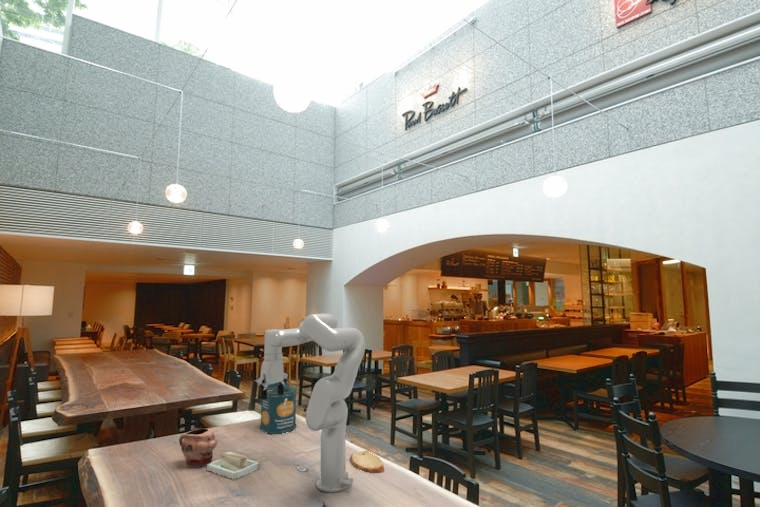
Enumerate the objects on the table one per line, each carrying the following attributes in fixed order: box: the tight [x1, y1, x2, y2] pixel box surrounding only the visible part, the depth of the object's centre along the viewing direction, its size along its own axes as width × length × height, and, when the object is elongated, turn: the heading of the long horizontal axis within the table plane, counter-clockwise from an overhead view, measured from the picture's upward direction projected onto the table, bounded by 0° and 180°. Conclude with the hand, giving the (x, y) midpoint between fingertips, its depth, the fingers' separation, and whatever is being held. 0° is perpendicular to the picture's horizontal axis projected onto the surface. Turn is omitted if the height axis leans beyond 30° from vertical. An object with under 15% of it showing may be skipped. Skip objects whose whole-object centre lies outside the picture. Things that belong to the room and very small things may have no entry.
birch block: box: [220, 451, 248, 472], centre depth 165 cm, size 4×12×5 cm, turn 58°
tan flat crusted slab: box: [349, 449, 385, 474], centre depth 168 cm, size 18×18×4 cm
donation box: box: [259, 379, 297, 435], centre depth 219 cm, size 16×16×28 cm
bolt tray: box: [206, 458, 261, 479], centre depth 165 cm, size 18×12×2 cm
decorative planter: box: [178, 428, 218, 468], centre depth 173 cm, size 20×12×14 cm, turn 76°
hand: (272, 396), depth 173 cm, fingers open, 9 cm apart
